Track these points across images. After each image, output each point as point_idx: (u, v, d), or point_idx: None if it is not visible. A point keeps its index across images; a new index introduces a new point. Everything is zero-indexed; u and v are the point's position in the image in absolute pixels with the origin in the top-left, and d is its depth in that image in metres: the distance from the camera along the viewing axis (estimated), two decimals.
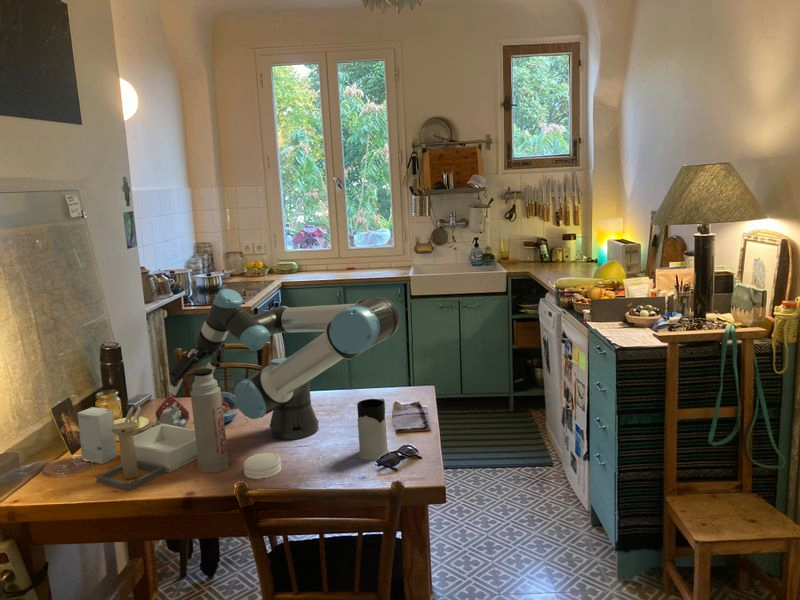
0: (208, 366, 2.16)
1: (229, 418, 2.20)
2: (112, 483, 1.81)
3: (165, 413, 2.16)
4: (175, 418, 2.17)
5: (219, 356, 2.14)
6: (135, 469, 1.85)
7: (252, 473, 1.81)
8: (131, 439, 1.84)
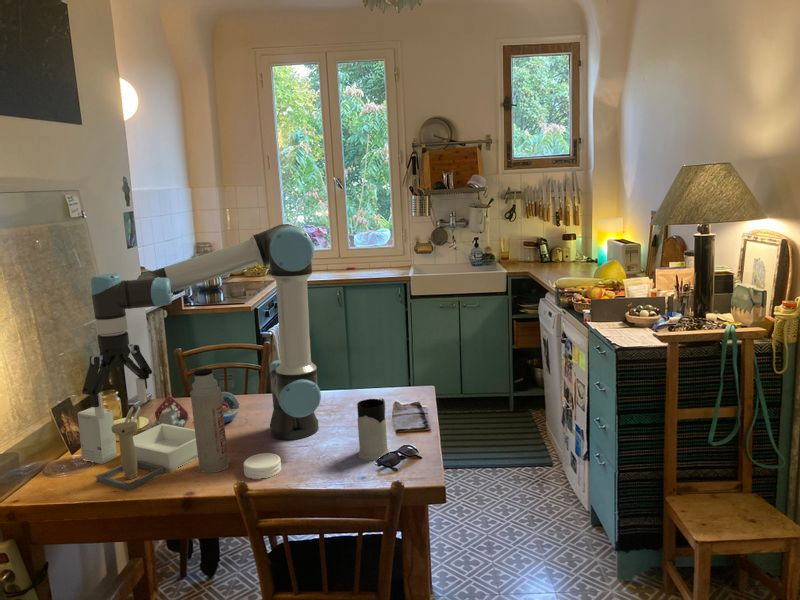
0: (137, 383, 1.88)
1: (229, 418, 2.20)
2: (112, 483, 1.81)
3: (164, 413, 2.15)
4: (174, 419, 2.17)
5: (142, 364, 1.87)
6: (135, 469, 1.85)
7: (252, 473, 1.81)
8: (131, 439, 1.84)
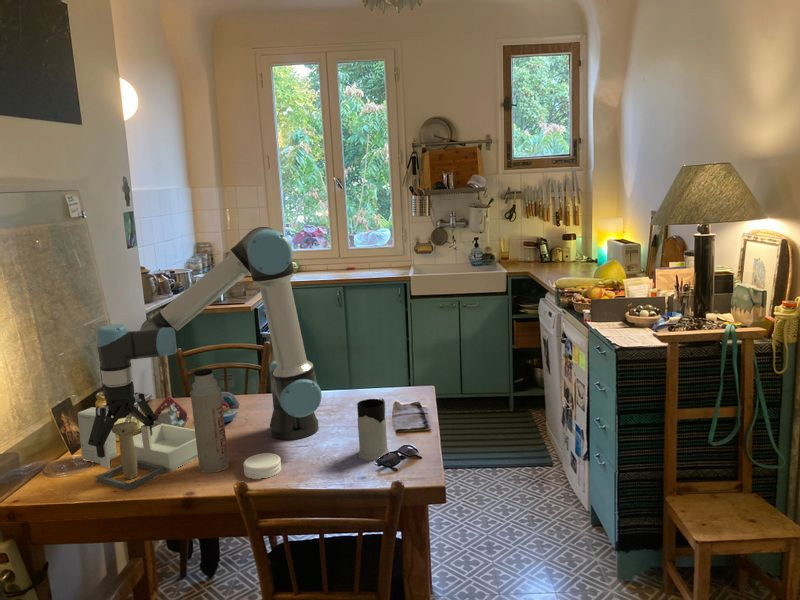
0: (142, 430, 1.90)
1: (229, 418, 2.20)
2: (112, 483, 1.81)
3: (163, 414, 2.15)
4: (173, 419, 2.17)
5: (147, 412, 1.89)
6: (135, 469, 1.85)
7: (252, 473, 1.80)
8: (131, 439, 1.84)
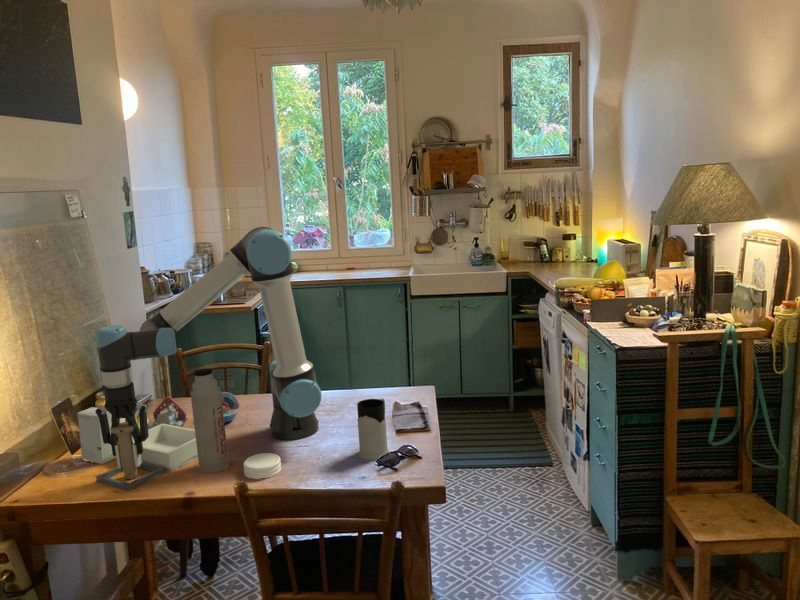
0: None
1: (229, 418, 2.20)
2: (112, 483, 1.81)
3: (162, 414, 2.15)
4: (172, 420, 2.16)
5: None
6: (134, 469, 1.85)
7: (252, 473, 1.80)
8: (130, 439, 1.83)
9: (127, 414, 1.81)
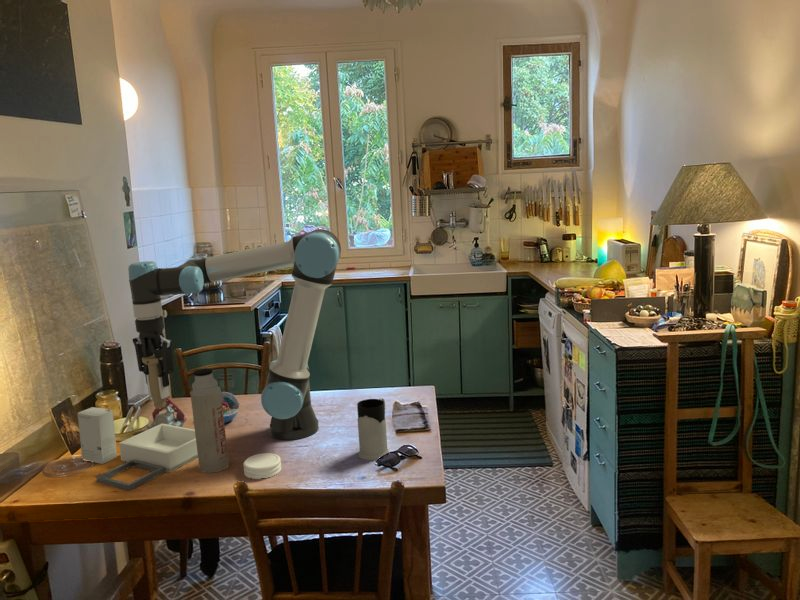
0: None
1: (229, 418, 2.20)
2: (112, 483, 1.81)
3: (160, 415, 2.15)
4: (170, 420, 2.16)
5: None
6: (161, 400, 1.94)
7: (252, 473, 1.80)
8: (157, 371, 1.93)
9: (152, 346, 1.90)
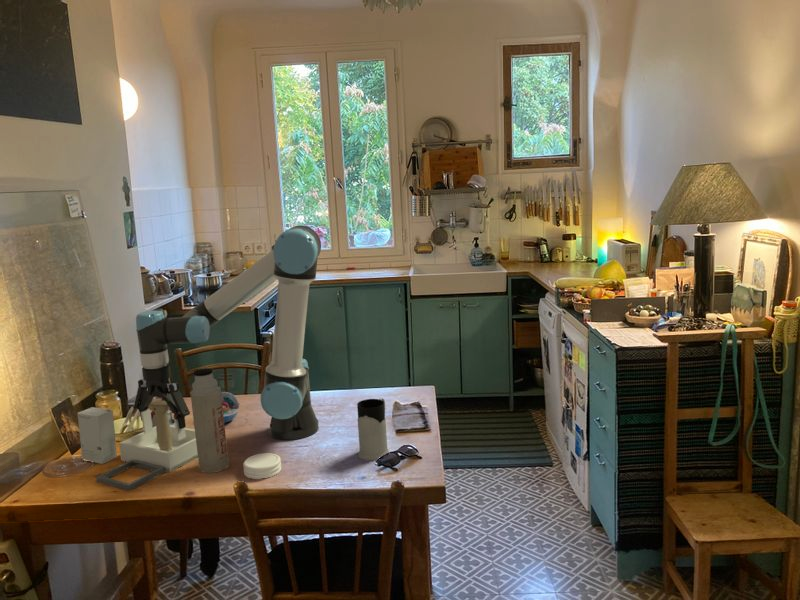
0: None
1: (229, 418, 2.20)
2: (112, 483, 1.81)
3: None
4: None
5: None
6: (167, 446, 1.97)
7: (252, 473, 1.81)
8: (164, 418, 1.96)
9: (161, 393, 1.93)
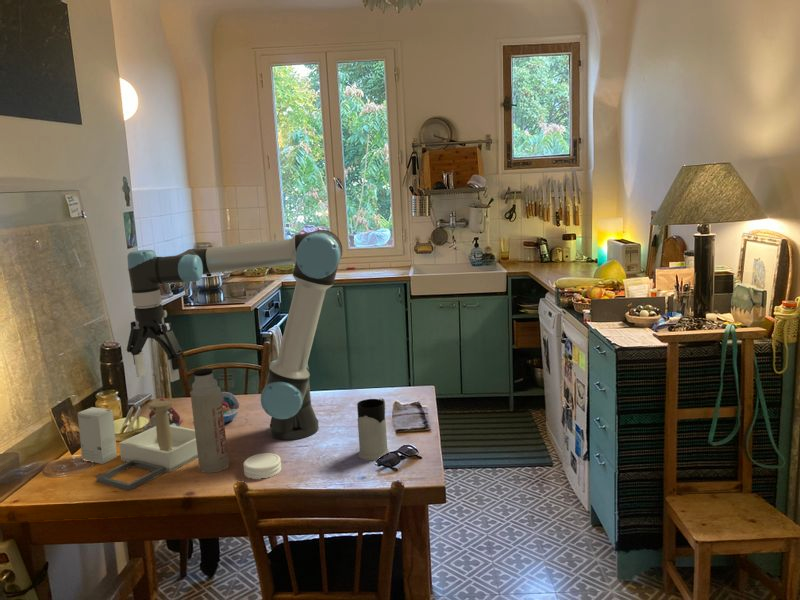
0: None
1: (229, 418, 2.20)
2: (112, 483, 1.81)
3: (155, 416, 2.13)
4: None
5: None
6: (167, 446, 1.97)
7: (252, 473, 1.81)
8: (164, 418, 1.96)
9: (153, 333, 1.90)
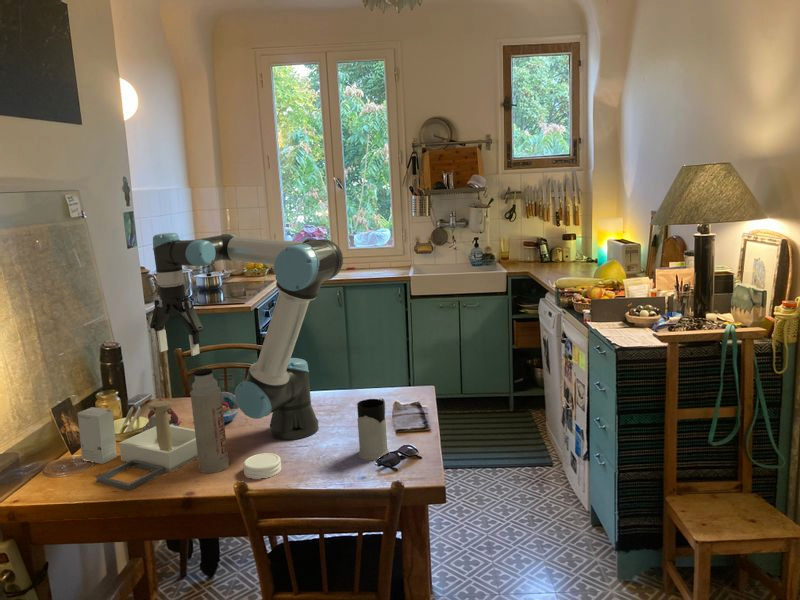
0: None
1: (229, 418, 2.20)
2: (112, 483, 1.81)
3: (153, 417, 2.13)
4: None
5: None
6: (167, 446, 1.97)
7: (252, 473, 1.81)
8: (164, 418, 1.96)
9: (176, 310, 2.04)
